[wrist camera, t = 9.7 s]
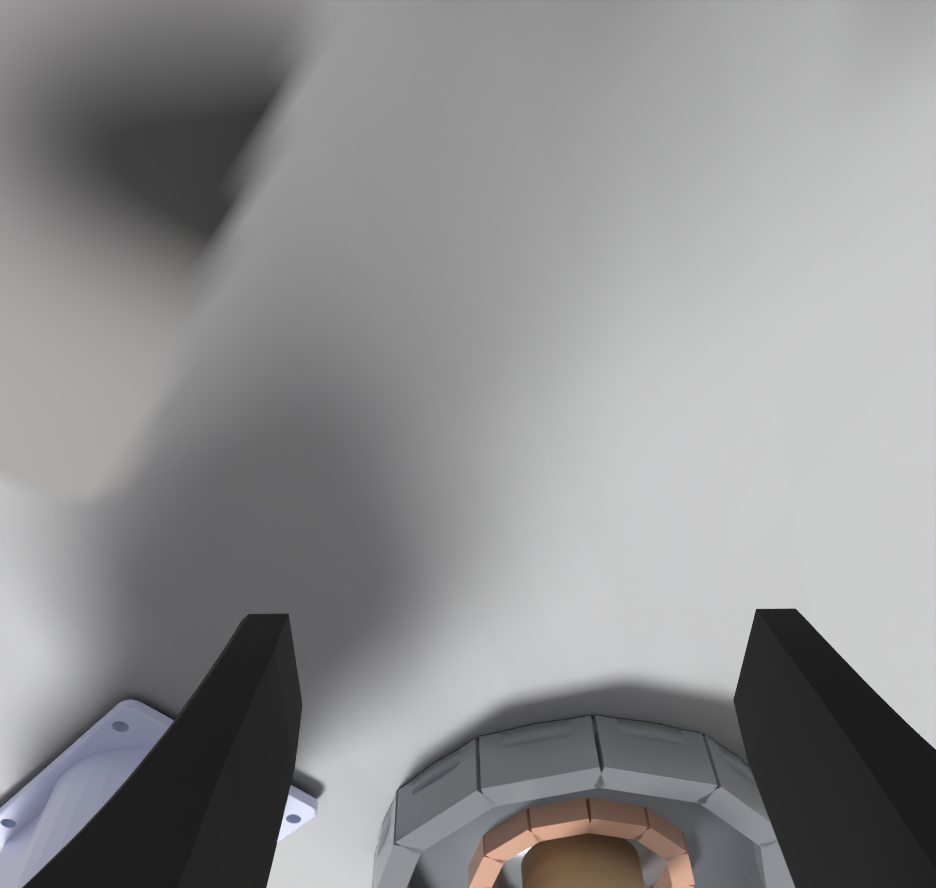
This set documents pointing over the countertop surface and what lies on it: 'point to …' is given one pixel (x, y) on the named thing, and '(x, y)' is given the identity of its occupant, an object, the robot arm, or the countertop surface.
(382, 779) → the countertop surface
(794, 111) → the countertop surface
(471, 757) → the round tray
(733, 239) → the countertop surface
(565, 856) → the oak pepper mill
